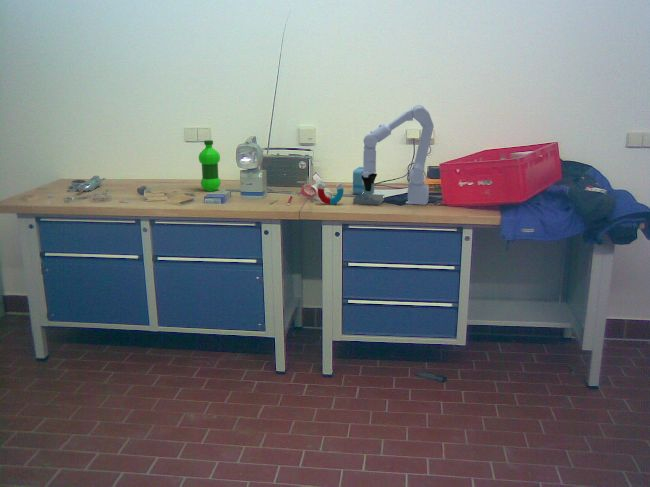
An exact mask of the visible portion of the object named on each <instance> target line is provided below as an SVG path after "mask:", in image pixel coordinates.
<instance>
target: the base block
mask: <svg viewBox="0 0 650 487" xmlns="http://www.w3.org/2000/svg"><path fill="white" fill-rule="evenodd" d="M383 196H384V198H383ZM352 200H353V202H352V204H353V205H361V206H362V205H363V206H374V207H375V206H377V207H378V206H380V205H381V204H382V203H383V202H384V201H385V194H376V193H373V194H356V196H355V197H353V198H352Z"/></svg>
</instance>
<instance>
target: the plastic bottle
mask: <svg viewBox="0 0 650 487" xmlns="http://www.w3.org/2000/svg"><path fill="white" fill-rule="evenodd" d="M203 142H204V144H203V145H204V146H205V148H204V149H202V151H201V152H200V153H199V155H198V162H199V163H200V164H201V172H202V174H201V175H202V177H201V180H200V185H201V188H202V189H203V190H204V191H206V192H215V190H216V191H217V190H218V189H219V188H220V186H221V182H222V181H221V178H220V177H219V163H220V161H221V154H220V153H219V151H218V150H216V149H215V148H214V147H213V145H214V140H212V139H211V140H209V139H207V140H204V141H203Z"/></svg>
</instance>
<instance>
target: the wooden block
mask: <svg viewBox="0 0 650 487" xmlns="http://www.w3.org/2000/svg"><path fill="white" fill-rule="evenodd" d="M364 194H375V182H374V183H372V185H371V190H370V191H366V190H365V186H364Z"/></svg>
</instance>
